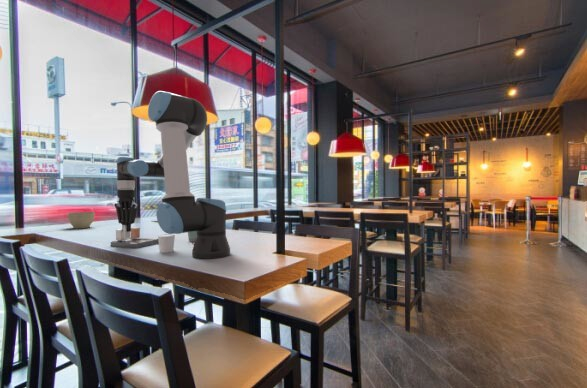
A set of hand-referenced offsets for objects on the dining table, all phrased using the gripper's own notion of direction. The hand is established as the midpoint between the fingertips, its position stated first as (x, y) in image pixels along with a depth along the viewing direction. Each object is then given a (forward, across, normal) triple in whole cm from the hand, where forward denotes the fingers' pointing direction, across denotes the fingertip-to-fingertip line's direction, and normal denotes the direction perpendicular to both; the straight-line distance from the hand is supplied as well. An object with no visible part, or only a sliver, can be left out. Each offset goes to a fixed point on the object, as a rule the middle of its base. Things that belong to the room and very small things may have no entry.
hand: (126, 238), depth 145 cm
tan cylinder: (+1, +2, -7) cm, 7 cm away
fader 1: (+1, +4, 0) cm, 4 cm away
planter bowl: (+4, +89, -42) cm, 99 cm away
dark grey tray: (+4, -2, -3) cm, 5 cm away
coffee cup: (+4, -23, -21) cm, 32 cm away
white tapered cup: (+4, -28, +5) cm, 29 cm away
